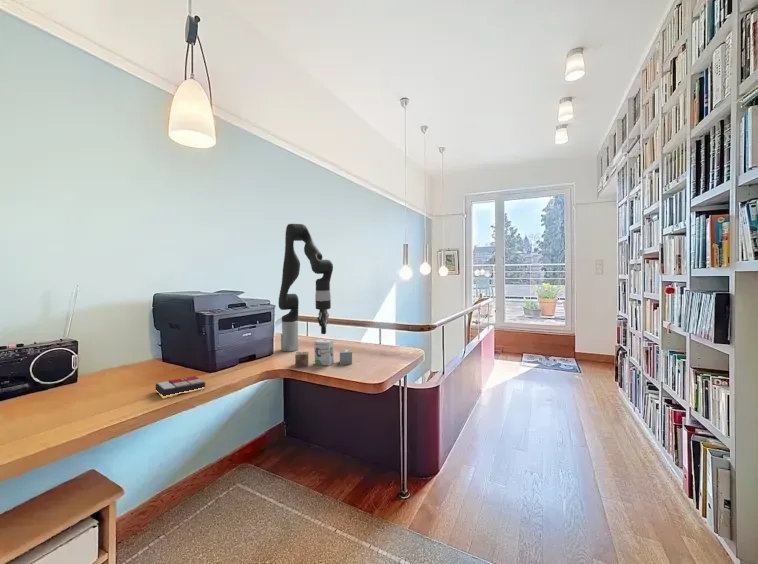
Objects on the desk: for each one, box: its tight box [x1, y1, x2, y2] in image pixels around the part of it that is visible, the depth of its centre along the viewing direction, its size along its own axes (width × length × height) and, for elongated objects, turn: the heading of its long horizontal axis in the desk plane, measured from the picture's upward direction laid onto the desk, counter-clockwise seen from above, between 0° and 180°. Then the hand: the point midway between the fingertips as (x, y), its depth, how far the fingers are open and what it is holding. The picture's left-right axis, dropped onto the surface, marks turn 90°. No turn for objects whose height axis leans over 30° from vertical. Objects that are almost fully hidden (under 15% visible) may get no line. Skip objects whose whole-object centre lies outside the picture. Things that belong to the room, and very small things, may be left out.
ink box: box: [313, 339, 335, 366], centre depth 176 cm, size 9×5×12 cm, turn 73°
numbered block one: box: [294, 351, 310, 368], centre depth 174 cm, size 6×6×6 cm
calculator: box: [155, 376, 206, 396], centre depth 140 cm, size 11×4×15 cm
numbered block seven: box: [339, 349, 353, 365], centre depth 178 cm, size 6×6×6 cm
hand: (323, 333), depth 175 cm, fingers closed
